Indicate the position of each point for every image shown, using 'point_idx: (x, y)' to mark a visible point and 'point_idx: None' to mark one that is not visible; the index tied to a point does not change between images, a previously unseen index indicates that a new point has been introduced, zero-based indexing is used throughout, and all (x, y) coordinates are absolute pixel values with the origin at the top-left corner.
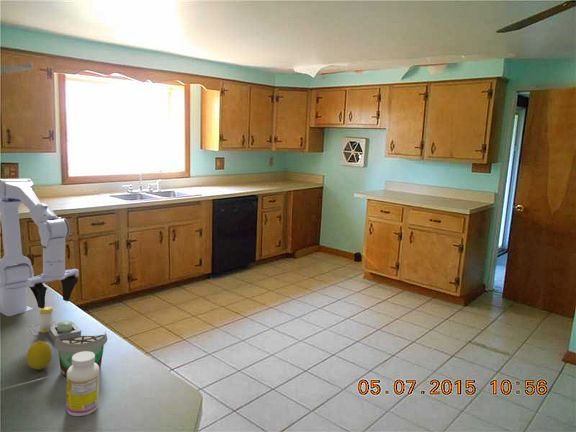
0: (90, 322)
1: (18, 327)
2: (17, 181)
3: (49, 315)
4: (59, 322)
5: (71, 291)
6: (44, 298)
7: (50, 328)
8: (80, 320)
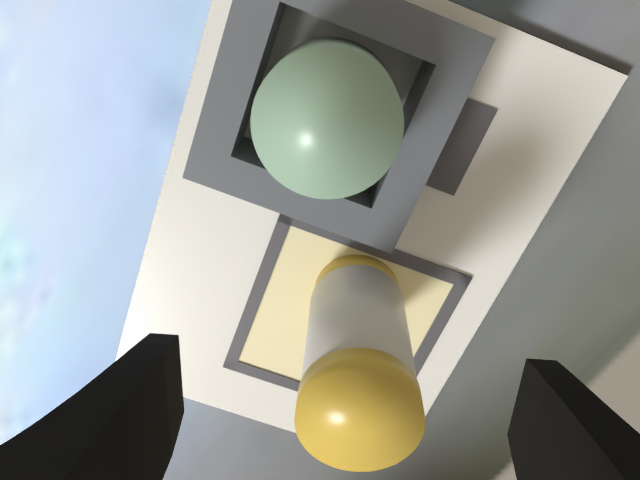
0: (21, 179)
1: (423, 454)
2: None
3: (363, 335)
4: (350, 185)
5: (51, 418)
6: (614, 460)
7: (404, 216)
8: (66, 266)
